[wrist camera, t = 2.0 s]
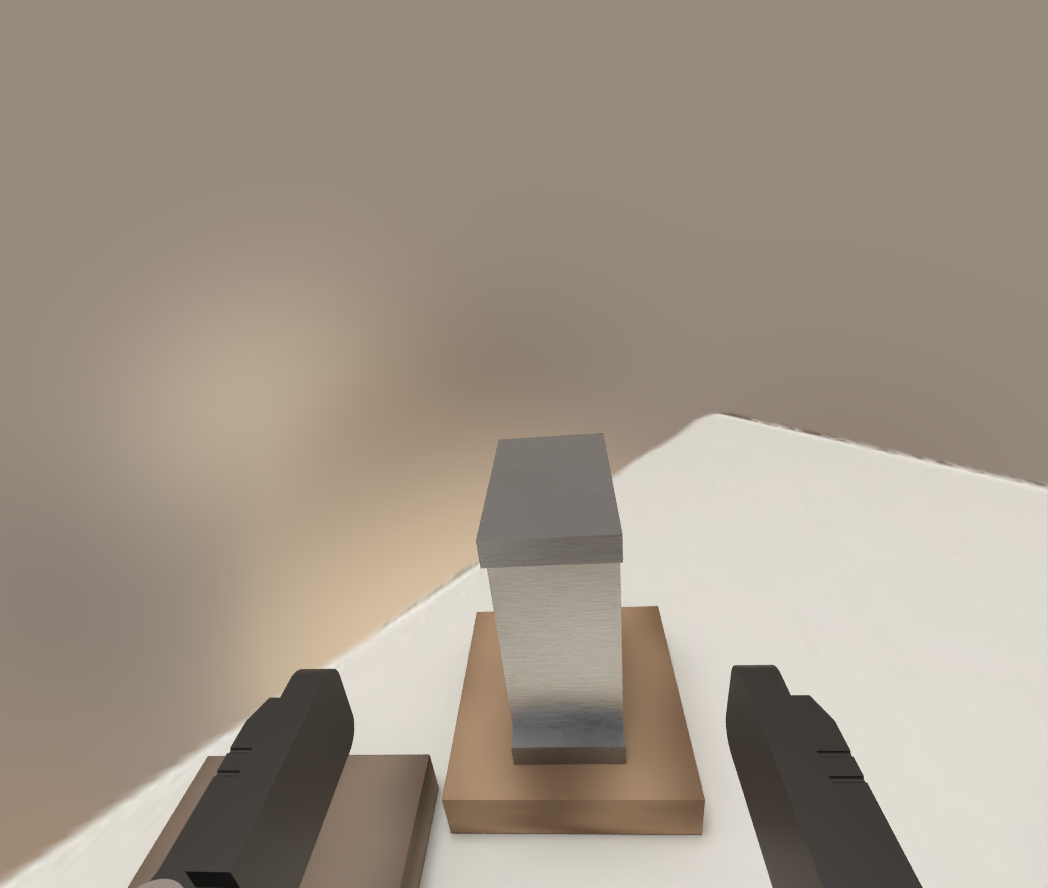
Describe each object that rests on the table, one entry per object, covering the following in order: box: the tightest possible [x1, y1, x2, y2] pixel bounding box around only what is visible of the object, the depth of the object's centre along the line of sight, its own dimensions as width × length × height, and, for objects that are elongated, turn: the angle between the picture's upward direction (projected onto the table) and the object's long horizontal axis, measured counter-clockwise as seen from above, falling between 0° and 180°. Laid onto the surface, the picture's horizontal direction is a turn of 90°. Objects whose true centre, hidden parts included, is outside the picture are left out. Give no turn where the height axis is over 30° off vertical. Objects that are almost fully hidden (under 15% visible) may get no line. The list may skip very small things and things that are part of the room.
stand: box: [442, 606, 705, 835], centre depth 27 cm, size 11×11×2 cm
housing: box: [476, 433, 626, 765], centre depth 24 cm, size 5×8×12 cm, turn 177°
